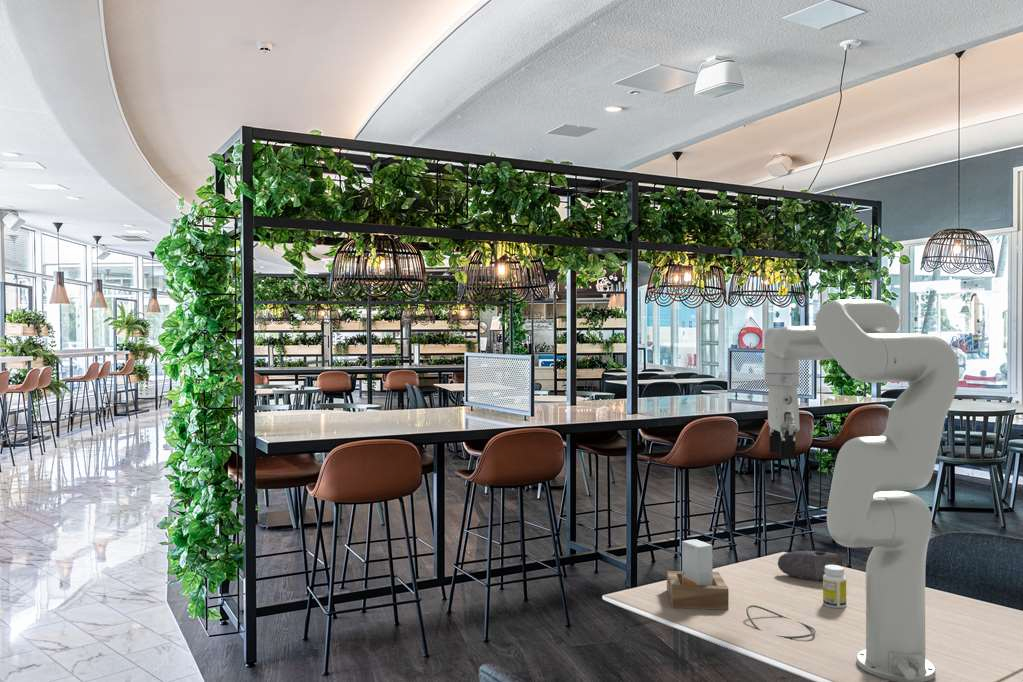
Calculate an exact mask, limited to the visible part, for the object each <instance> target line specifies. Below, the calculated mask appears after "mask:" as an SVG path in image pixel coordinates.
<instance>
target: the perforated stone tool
mask: <svg viewBox="0 0 1023 682" xmlns="http://www.w3.org/2000/svg"><path fill="white" fill-rule="evenodd" d="M843 559H844V558H843V556H841V554H839V553H834V552H826V551H816V550H797V551H796V550H795V551H790V552H786V553H784V554H782V555H780V556H779V557H778V561H777V567H778V568H779V570H780V571H781V572H782V573H783V574H786V575H787V576H790V577H798V576H799V577H798V578H801V577H802V578H801V579H803V578H804V579H803V580H809V579H810V580H811V581H816V580H817V581H823V575H824V574H826V573H825V566H826V565H838V566H842V567H843V566H844V564H843Z"/></svg>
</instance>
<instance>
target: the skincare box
mask: <svg viewBox="0 0 1023 682" xmlns="http://www.w3.org/2000/svg"><path fill="white" fill-rule="evenodd" d="M681 545H682V547H681V571H682V585H711V586H713V576H712V572H713V545H712V544H709V543H708V542H705V541H701V540H699V539H697V538H696V539H694V538H693V539H687V540H681Z"/></svg>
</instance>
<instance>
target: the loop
mask: <svg viewBox="0 0 1023 682" xmlns="http://www.w3.org/2000/svg"><path fill="white" fill-rule="evenodd" d="M750 608H758V609H760V610H763V611H766V612H768V613H770V614H773V615H776V616H778V617H781V618H783V617H784V619H788V620H791V618H789V617H788V616H787V617H786V616H785V615H782V614H780V613H777V612H774V611H772V610H770V609H768V608H766V607H762V606H761V605H760V606H759V605H756V604H751V605H748V606H747V607H746V610H745V611H746V615H747V618H748V620H749V622H750V623H751V624H752V626H753V627H754V628H755V629H757V630H758V631H761V632H763V630H762V629H761V628H760V627H758V625H757V624H756V623H754V621H753V620H752V618H751V616H750V612H749V609H750ZM796 622H797V623H799V624H801V625H802V626H803V627H805V628H809V629H810V630H812V631H813V632H811V633H808V634H803V635H797V636H795V635H793V636H789V635H788V636H785V635H775V636H776V637H780V638H783V637H784V639H789V638H790V639H802V638H808V637H811V636H814V635H815V634H816V629H815V628H814V627H812V626H811V625H808V624H805V623H803V622H800V621H798V620H796Z"/></svg>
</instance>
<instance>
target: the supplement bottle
mask: <svg viewBox="0 0 1023 682" xmlns="http://www.w3.org/2000/svg"><path fill="white" fill-rule="evenodd" d="M825 573H826V574H824V575H823V580H822V603H823V604H824V605H825V606H826V607H829V608H833V609H844V608H846V607H847V578H846V576H845V568H844V567H843V566H838V565H826V566H825Z"/></svg>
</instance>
